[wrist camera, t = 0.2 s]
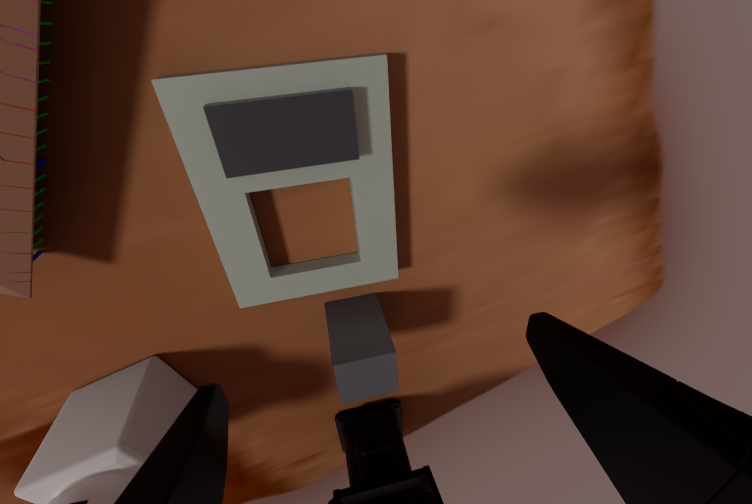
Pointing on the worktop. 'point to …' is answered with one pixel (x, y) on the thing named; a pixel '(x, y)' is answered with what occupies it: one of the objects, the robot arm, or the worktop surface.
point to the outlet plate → (288, 162)
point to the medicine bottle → (105, 435)
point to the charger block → (361, 348)
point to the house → (19, 141)
